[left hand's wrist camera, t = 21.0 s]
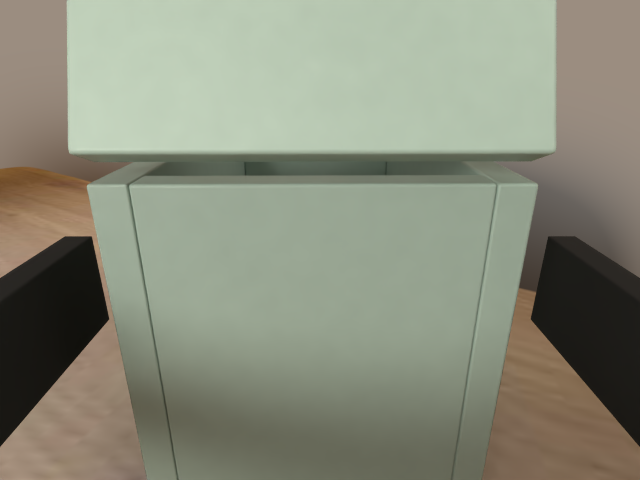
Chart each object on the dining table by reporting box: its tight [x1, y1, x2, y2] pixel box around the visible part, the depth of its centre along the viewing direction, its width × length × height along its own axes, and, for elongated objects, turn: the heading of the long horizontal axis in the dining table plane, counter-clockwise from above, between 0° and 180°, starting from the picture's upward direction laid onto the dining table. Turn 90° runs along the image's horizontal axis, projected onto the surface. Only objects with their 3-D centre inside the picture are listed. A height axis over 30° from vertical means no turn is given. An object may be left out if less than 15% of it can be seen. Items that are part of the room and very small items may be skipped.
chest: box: [87, 161, 538, 480], centre depth 17 cm, size 15×9×10 cm, turn 0°
